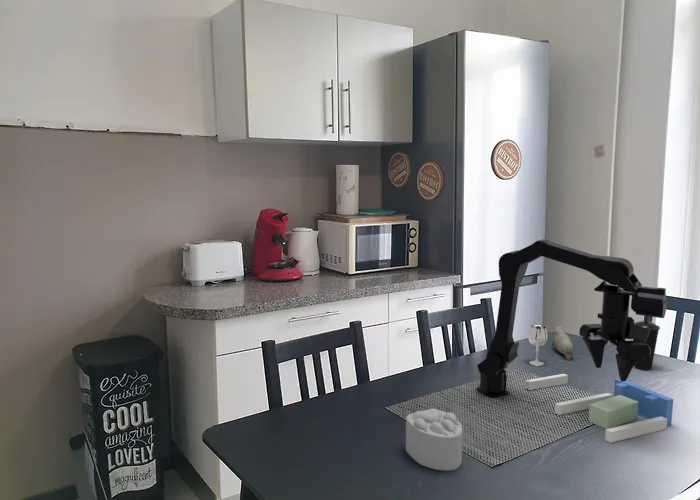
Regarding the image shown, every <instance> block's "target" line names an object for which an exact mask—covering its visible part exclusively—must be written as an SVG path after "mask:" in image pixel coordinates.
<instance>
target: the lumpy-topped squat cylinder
mask: <svg viewBox="0 0 700 500" xmlns="http://www.w3.org/2000/svg"><path fill="white" fill-rule="evenodd" d="M405 419H406V420H405V421H406V422H405V451H406V453H407V454H408V455H409V456H410V457H411V458H412V459H413V460H414V461H415V462H416V463H418V464H420V465H421V466H424V467H426V468H429V469H432V470H437V471H446V472H449V471H455V470H457V469H458V468H460V466H461V465H462V461H463V460H462V459H463V457H462V456H463V431H464V430H463V426H462V425H463V424H462V423H461V422H460V421H459V420H458V418H457V416H456V414H455V413H453V412H445V411H443V410H438V409H437V408H429V409H425V410H417V411H415V412H413V413H409V414H407V416H406V418H405Z"/></svg>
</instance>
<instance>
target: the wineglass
mask: <svg viewBox="0 0 700 500" xmlns="http://www.w3.org/2000/svg"><path fill="white" fill-rule="evenodd" d="M527 338H528V341H529V343H530V344H531V346H534V347H535V353H536V354H535V356H536V357H535V359H534V360H531V361H529V364H530V365H533V366H539V367H541V366H544V365H545V363H544V362H543V361H539V359H538V357H539V352H540V351H539V350H540V349H539V347H541V348H542V347H543V346H545V345H547V342H548V330H547V326H544V325H540V324H539V325H538V324H532V325H530V328H529V330H528V337H527Z"/></svg>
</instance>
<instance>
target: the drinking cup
mask: <svg viewBox="0 0 700 500" xmlns="http://www.w3.org/2000/svg"><path fill="white" fill-rule="evenodd" d="M644 317H645V318H644V320H640V321H636V322H634V324H636V325H639V326H642V327H644V328H647V329H649V330H650V333H649V335H648V338H647V340H646V342H644V341H642V340H641V339H638V338H635V337H633V339H632V340H638V341H640V342H643V343H645V344H648V346H649V347H650V348H651V353H650V357H646V358H645V359H640V360H638V361H637V362H636V363H635V365H634V366H633V368H635V369H637V370H640V371H651V370H652V368H653V363H654V358H655V353H656V347H657V342H658V341H657V340H658V335H659V331H660V328H661V327H660V325H657V324H656V323H653V322H652V321H649V319H648V318H649V316H644Z"/></svg>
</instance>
